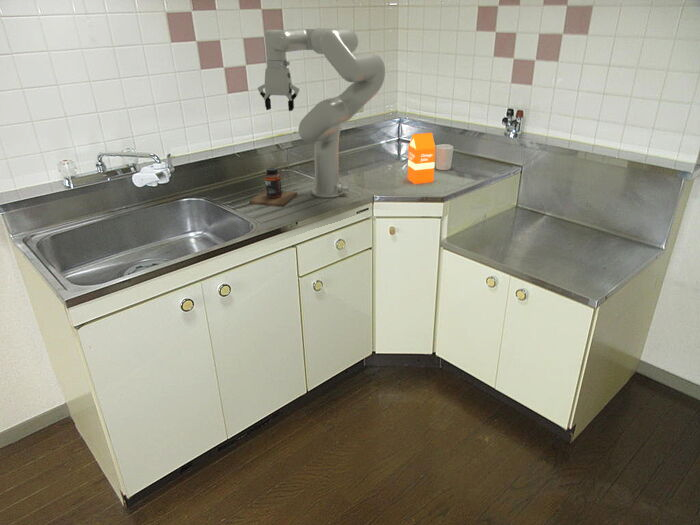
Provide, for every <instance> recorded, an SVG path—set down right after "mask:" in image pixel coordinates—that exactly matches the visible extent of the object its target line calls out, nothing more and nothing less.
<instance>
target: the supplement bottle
mask: <svg viewBox="0 0 700 525" xmlns="http://www.w3.org/2000/svg"><path fill="white" fill-rule="evenodd" d="M281 182H282V180H281V174H280V173H279V171H278V168H277V167H274V166H268V167H267V168H266V173H265V175H264V183H265V189H266V194H267V197H268V198H273V199H274V198H279V197H281V196H282V191H283V190H282V183H281Z"/></svg>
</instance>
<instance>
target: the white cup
mask: <svg viewBox="0 0 700 525" xmlns="http://www.w3.org/2000/svg"><path fill="white" fill-rule="evenodd" d="M453 153H454V146H453V145H452V144H446V143H445V144H437V145H435V168H436V170H440V171H448V170H449V171H450V170H451V167H452V163H453V155H454V154H453Z"/></svg>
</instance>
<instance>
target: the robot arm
mask: <svg viewBox="0 0 700 525" xmlns="http://www.w3.org/2000/svg"><path fill="white" fill-rule="evenodd" d="M264 44H265V45H264V46H265V56H266V68H265V72H264V84H262V85H260V86H258V87H257V90H258V92H259V95H260V96H261V97H262V99H264V107H265V109H266V111H269V110H271V109H272V105H271V104H272V102H271V98H270V97H271V96H282V97H283V96H284V97H285V96H286V98H287V99H288V100H287V104H288V112H292V111H293V110H294V109H295V106H294V105H295V103H294V102H295V101H294V100H296V98H297V97H298V94H299V92H300V87H298V86H295V85H294V84H292V77H291V71H290V69H289V66H290V61H288V60H287V53H290V52H296V51H297V52H298V51H313V52H315V54H318V55H324V57H325V59H326V60H327V61H328V62H329V63H330V65H331V66H332V67H333V68H334V70H335V71H336V73H338V75H339V76H340V77H341V78H342V79H343V80H344V81H346V82H348V83H351V84H350V85H348V86H347V87H346V89H345V90H343V91H342V93H341V94H339V95H338V96H333V97H330V98H326V99H323V100H321V101H319V102H318V103H317V104H316V105H315V106H313V107H312V109H310V111H308V113H307V114H306V115H305V116H304V117H302V119H301V120H300V122H299V125H298V134H299V137H300V138H301V140H302V141H304V142H305V143H309V144H313V143H314V146H313V147H314V148H313V155H314V156H313V158H314V180H315V183H314V185H315V187H313V188H312V190H311V194H312V195H313V197H314V196H315V197H317V198H322V199H330V198H337V197H340V196H342V195H343V194H344V192H349V191H350V186H349V185H348V184H342V180H340V168H339V167H340V164H339V163H340V162H339V159H340V158H339V157H340V156H339V151H340V150H339V148H340V146H339V142H340V136H341V126H342V125H341V124H345V123H347V122H349V121H350V120H351V119H352V118H353V117H354V116H355V115H357V113H359V111H361V109H363V107H365V105H366V104H368V102H370V101H371V100H372V99H373V98H374V97H375V96H376V94H377V93H379V91H380V89H381V88H382V87H383V84H384V81H385V75H386V68H385V67H386V66H385V63H384V61H383V59H382V58H381V57H380V56H379V55H378V54H376V53H371V52H369V53H368V52H365V53H359V54H353V53H354V52H355V51H356V49H357V48H358V44H359V38H358V35H357V34H356V32H355V31H353V30H352V29H349V28H345V27H344V28H341V27H340V28H339V27H338V28H337V27H334V28H332V27H331V28H330V27H329V28H328V27H327V28H326V27H324V28H322V27H317V28H292V29H290V28H289V29H283V30H282V29H267V30H265V31H264ZM264 90H265V91H264ZM293 91H294V93H293Z"/></svg>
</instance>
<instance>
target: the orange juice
mask: <svg viewBox="0 0 700 525" xmlns="http://www.w3.org/2000/svg"><path fill="white" fill-rule="evenodd" d="M407 154H408V156H407V158H408V160H407V178H406V180H409V181H410V182H411V183H413V184H414V185H417V184H419V185H420V184H428V183H433V182H434V177H435V176H434V175H435V166H436V145H435V141H434V136H433V132H425V133H413V134H412V137H411V138H410V142H409V144H408V153H407Z"/></svg>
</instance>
